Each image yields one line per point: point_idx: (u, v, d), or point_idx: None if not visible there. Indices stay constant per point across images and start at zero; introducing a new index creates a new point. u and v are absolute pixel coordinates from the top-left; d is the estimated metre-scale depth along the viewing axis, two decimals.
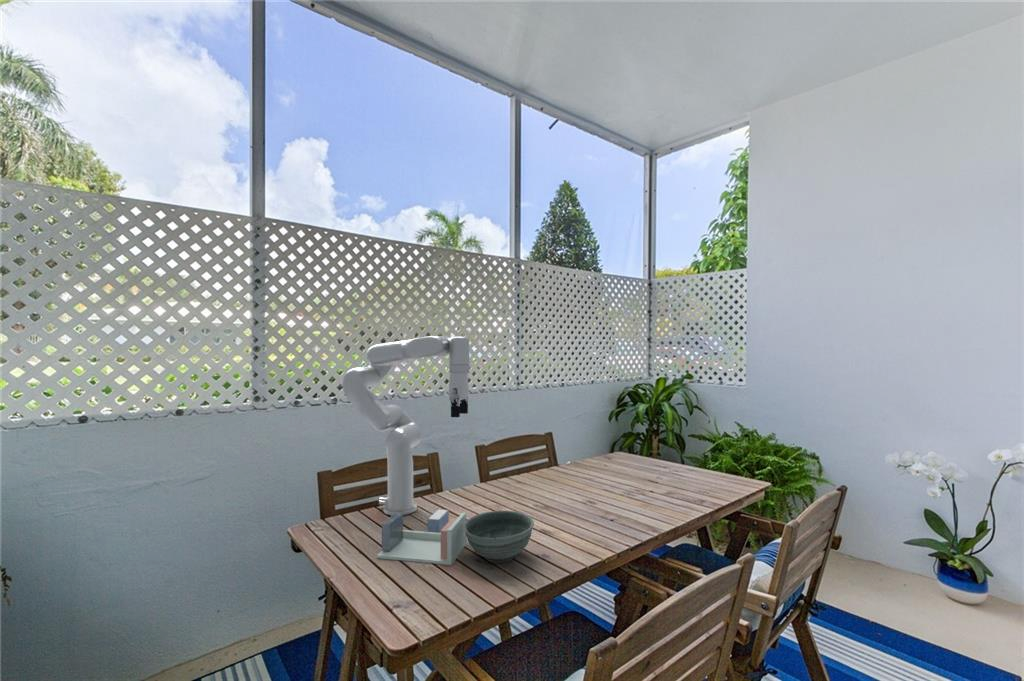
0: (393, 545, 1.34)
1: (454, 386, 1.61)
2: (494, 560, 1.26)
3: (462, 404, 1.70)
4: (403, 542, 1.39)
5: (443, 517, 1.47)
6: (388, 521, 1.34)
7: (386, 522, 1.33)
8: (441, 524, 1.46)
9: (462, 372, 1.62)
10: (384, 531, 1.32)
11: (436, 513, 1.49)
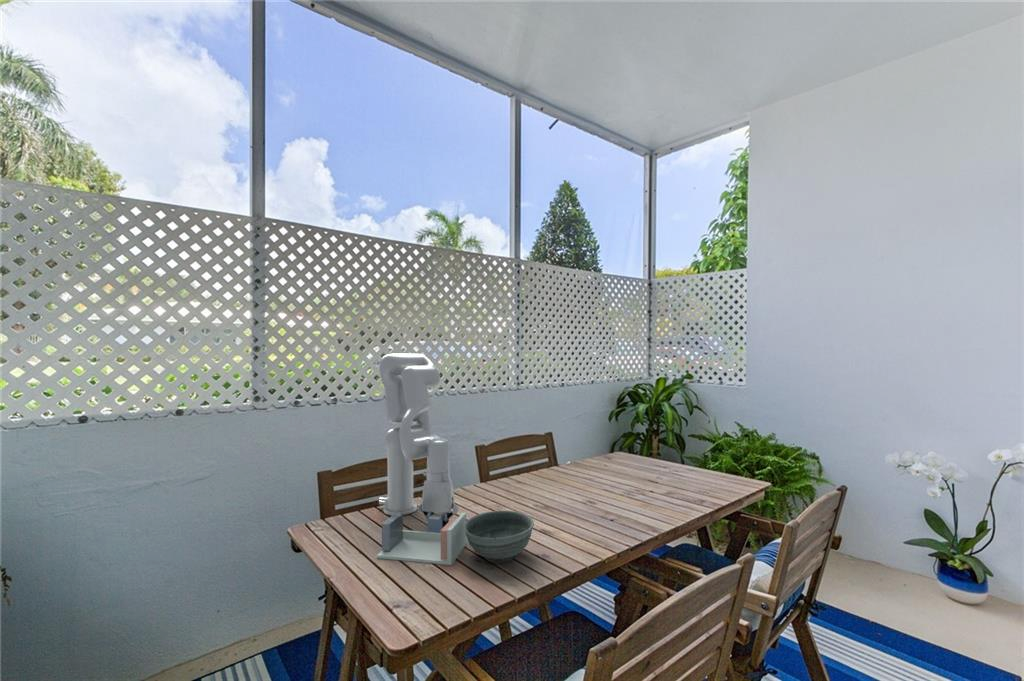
0: (393, 545, 1.34)
1: (452, 495, 1.47)
2: (494, 560, 1.26)
3: None
4: (403, 542, 1.39)
5: (443, 517, 1.47)
6: (388, 521, 1.34)
7: (386, 522, 1.33)
8: (442, 524, 1.46)
9: None
10: (384, 531, 1.32)
11: (436, 513, 1.49)
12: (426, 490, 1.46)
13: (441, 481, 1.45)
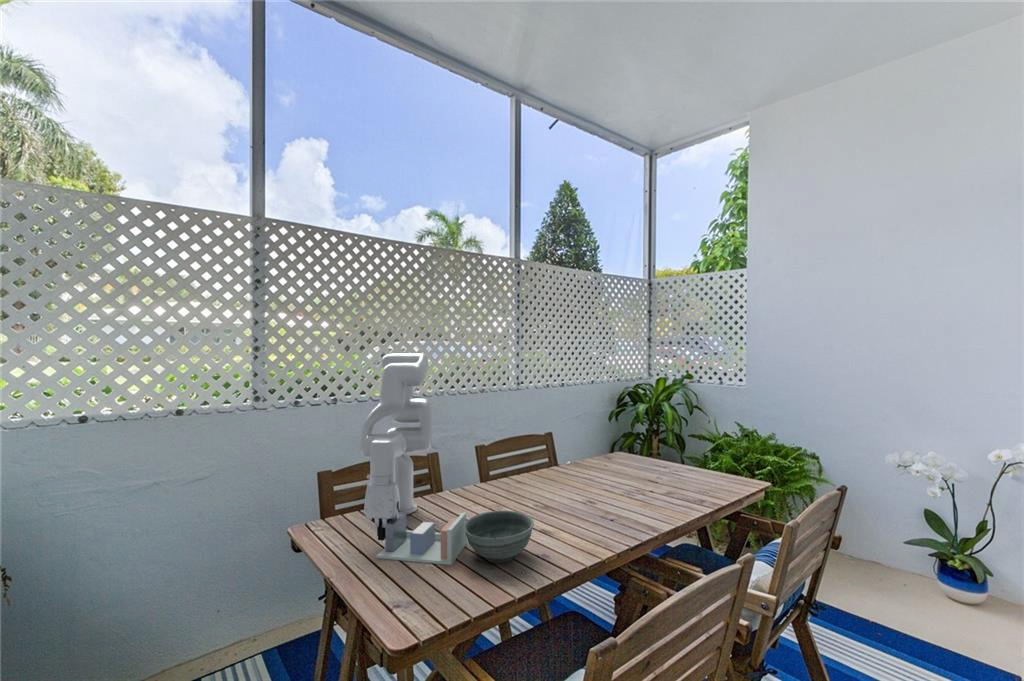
0: (397, 545, 1.34)
1: (397, 499, 1.36)
2: (494, 560, 1.26)
3: None
4: (403, 542, 1.39)
5: (428, 531, 1.34)
6: (392, 521, 1.34)
7: (389, 522, 1.33)
8: (426, 539, 1.32)
9: None
10: (388, 531, 1.32)
11: (420, 526, 1.35)
12: (368, 494, 1.35)
13: (384, 484, 1.34)
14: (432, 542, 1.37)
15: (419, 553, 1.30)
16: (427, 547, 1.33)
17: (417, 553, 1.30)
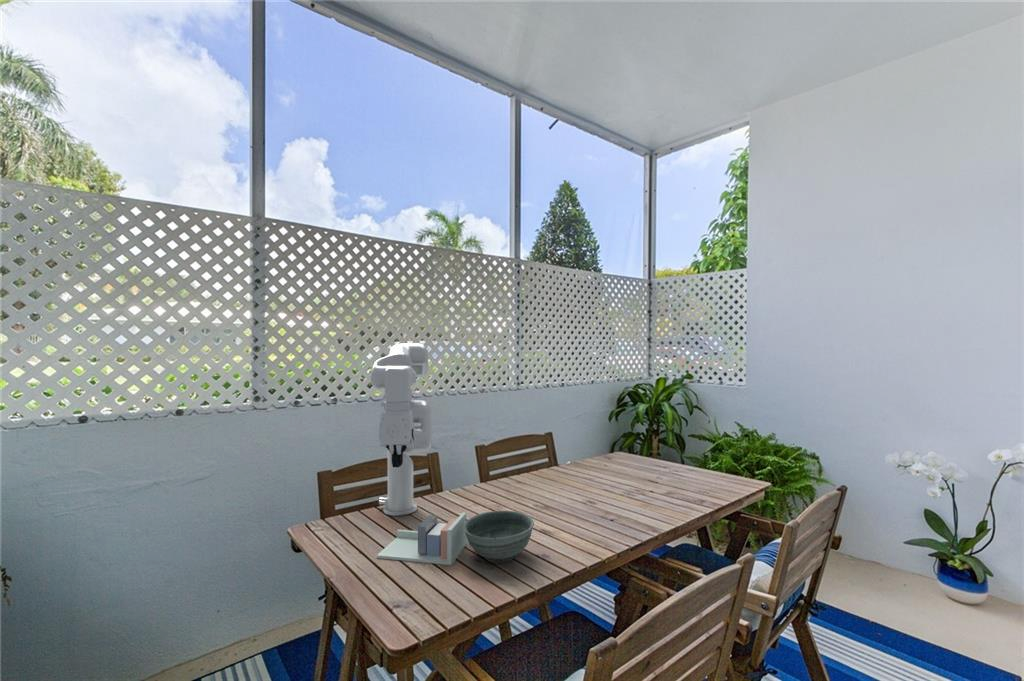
0: None
1: (411, 426, 1.36)
2: (494, 560, 1.26)
3: None
4: (403, 542, 1.39)
5: None
6: (424, 524, 1.32)
7: (421, 524, 1.31)
8: None
9: None
10: (420, 534, 1.30)
11: (436, 527, 1.34)
12: (383, 421, 1.35)
13: (399, 411, 1.34)
14: None
15: (436, 554, 1.29)
16: None
17: (434, 554, 1.29)
